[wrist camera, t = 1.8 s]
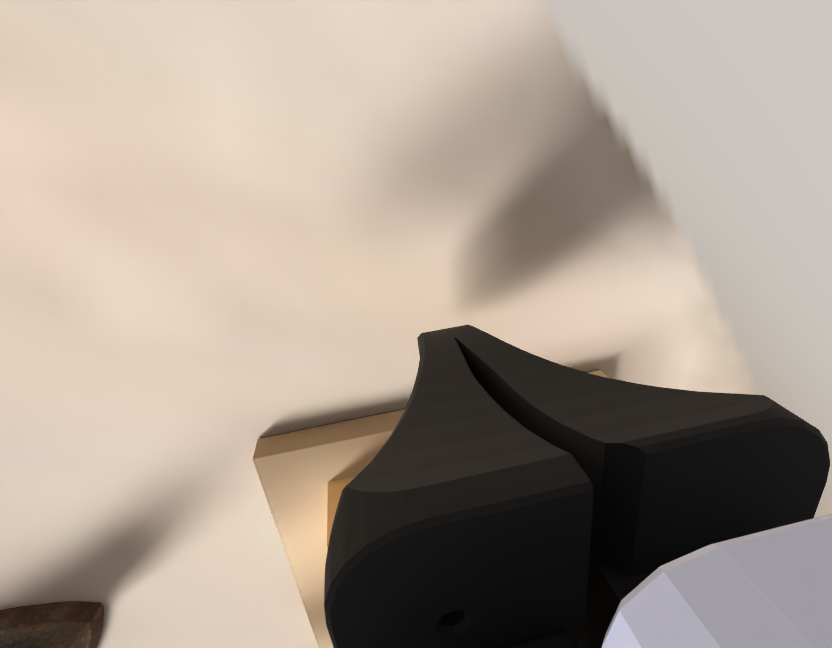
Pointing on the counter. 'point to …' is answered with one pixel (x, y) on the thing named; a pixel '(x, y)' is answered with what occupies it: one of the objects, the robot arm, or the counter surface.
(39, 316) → the counter surface
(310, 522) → the board
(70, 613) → the clothes iron
